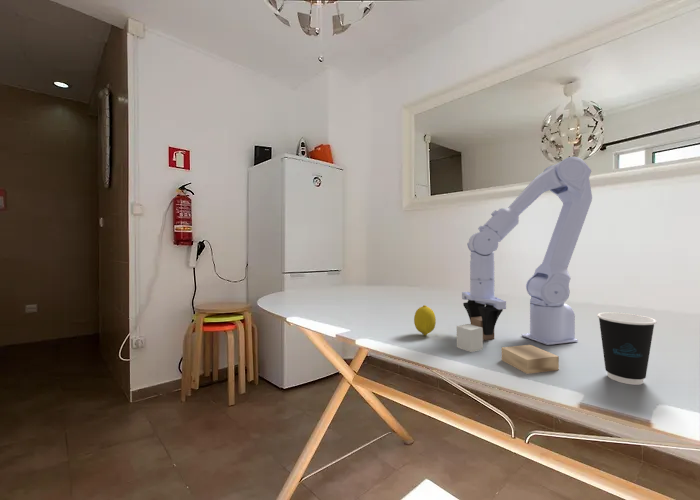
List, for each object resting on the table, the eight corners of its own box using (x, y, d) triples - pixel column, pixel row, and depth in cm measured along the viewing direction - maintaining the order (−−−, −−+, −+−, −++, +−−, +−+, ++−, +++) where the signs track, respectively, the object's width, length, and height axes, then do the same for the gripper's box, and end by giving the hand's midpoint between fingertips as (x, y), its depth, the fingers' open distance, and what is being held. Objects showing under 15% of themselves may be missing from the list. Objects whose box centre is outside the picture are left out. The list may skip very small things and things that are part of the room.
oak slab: (530, 358, 68) (530, 344, 67) (558, 371, 61) (558, 356, 61) (501, 361, 66) (501, 347, 66) (527, 375, 59) (527, 359, 59)
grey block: (468, 344, 76) (468, 323, 76) (482, 349, 73) (482, 327, 73) (456, 347, 74) (456, 326, 74) (470, 352, 71) (470, 330, 71)
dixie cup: (627, 369, 60) (627, 311, 60) (669, 388, 53) (670, 322, 52) (585, 370, 60) (586, 312, 60) (622, 389, 52) (622, 323, 52)
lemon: (436, 339, 81) (436, 307, 80) (414, 338, 82) (414, 307, 82) (435, 332, 86) (434, 303, 86) (414, 332, 87) (414, 302, 87)
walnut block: (483, 334, 84) (483, 316, 84) (494, 339, 80) (494, 319, 80) (470, 336, 83) (470, 317, 83) (480, 340, 79) (480, 320, 79)
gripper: (452, 276, 87) (452, 326, 87) (487, 283, 73) (488, 341, 73) (474, 275, 89) (474, 324, 89) (513, 281, 75) (513, 339, 75)
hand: (482, 332), depth 81 cm, fingers closed on walnut block, 4 cm apart
